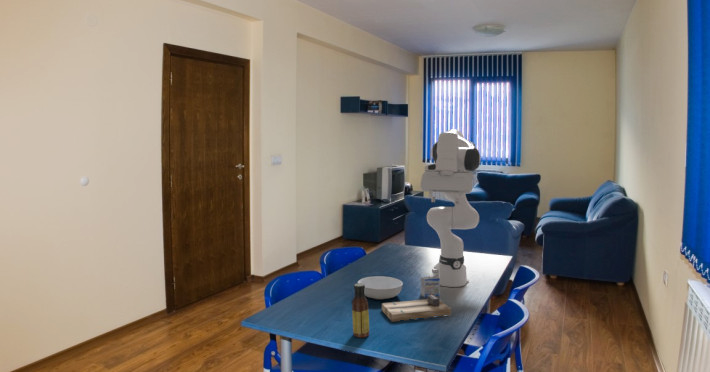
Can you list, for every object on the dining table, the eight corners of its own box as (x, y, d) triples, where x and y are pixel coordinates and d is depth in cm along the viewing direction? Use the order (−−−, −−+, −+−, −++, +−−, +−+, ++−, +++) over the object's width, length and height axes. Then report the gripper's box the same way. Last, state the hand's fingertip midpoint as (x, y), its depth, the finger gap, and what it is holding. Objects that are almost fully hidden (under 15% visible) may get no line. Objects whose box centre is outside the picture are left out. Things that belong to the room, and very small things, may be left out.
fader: (427, 301, 225) (427, 294, 224) (433, 301, 225) (433, 294, 225) (432, 306, 219) (432, 299, 219) (439, 305, 220) (439, 298, 219)
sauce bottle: (368, 331, 200) (368, 281, 198) (369, 338, 194) (369, 286, 192) (351, 332, 200) (351, 282, 198) (352, 338, 194) (352, 287, 192)
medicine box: (424, 297, 240) (424, 279, 239) (420, 294, 245) (420, 276, 244) (439, 296, 242) (440, 278, 242) (435, 293, 247) (436, 275, 246)
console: (381, 310, 224) (381, 303, 224) (437, 304, 231) (437, 298, 230) (392, 321, 211) (392, 314, 210) (451, 315, 217) (451, 308, 217)
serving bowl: (399, 305, 230) (400, 290, 230) (353, 302, 235) (353, 287, 234) (404, 290, 251) (404, 277, 250) (362, 288, 255) (362, 274, 254)
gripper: (472, 173, 209) (471, 206, 205) (421, 171, 213) (419, 203, 209) (473, 167, 203) (472, 201, 199) (421, 165, 207) (419, 198, 203)
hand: (445, 202), depth 204 cm, fingers open, 8 cm apart
